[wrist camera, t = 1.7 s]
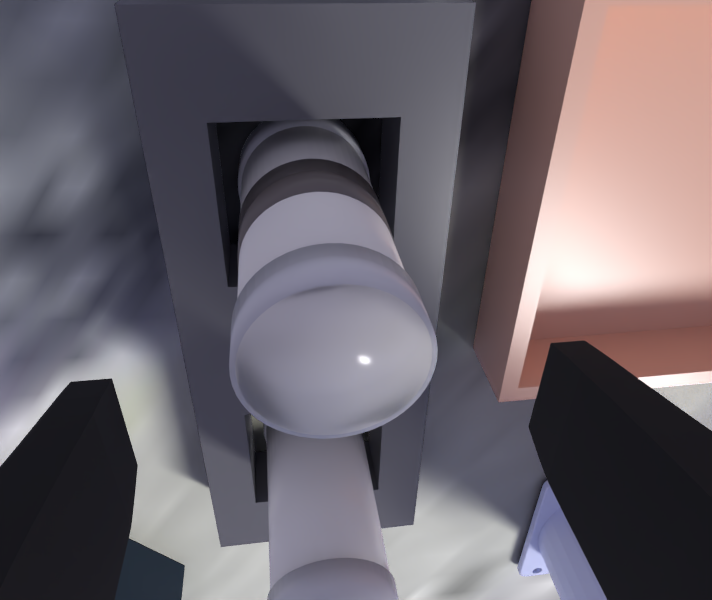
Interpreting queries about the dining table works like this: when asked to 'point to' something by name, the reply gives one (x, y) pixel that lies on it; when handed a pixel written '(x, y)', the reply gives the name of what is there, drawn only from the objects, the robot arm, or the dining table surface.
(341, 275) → the cylinder
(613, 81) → the parts tray
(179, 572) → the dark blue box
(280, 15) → the fuse holder
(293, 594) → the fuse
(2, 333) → the dining table surface
